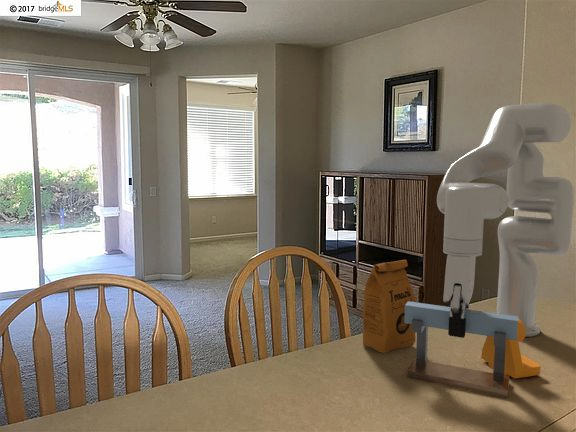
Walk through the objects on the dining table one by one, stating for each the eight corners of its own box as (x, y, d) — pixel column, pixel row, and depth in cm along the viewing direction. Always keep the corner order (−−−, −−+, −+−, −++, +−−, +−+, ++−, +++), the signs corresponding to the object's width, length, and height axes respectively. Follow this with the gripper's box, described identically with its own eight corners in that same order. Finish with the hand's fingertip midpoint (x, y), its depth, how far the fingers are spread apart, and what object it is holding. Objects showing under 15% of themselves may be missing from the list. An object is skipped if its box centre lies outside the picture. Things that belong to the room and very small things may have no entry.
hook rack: (414, 364, 111) (416, 301, 109) (508, 383, 102) (513, 314, 100) (405, 379, 103) (407, 312, 101) (507, 401, 94) (511, 327, 92)
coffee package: (421, 348, 120) (424, 262, 117) (382, 358, 114) (385, 268, 111) (394, 335, 129) (396, 255, 126) (357, 344, 123) (358, 260, 120)
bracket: (541, 377, 104) (545, 324, 103) (514, 382, 102) (517, 328, 101) (506, 357, 115) (509, 309, 113) (481, 361, 113) (483, 312, 111)
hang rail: (407, 318, 106) (408, 301, 106) (517, 335, 96) (518, 316, 96) (404, 323, 104) (404, 305, 103) (516, 340, 94) (517, 320, 93)
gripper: (449, 238, 107) (446, 316, 109) (436, 251, 92) (432, 342, 94) (485, 241, 104) (481, 321, 106) (478, 255, 89) (473, 349, 91)
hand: (458, 330), depth 100 cm, fingers open, 5 cm apart
